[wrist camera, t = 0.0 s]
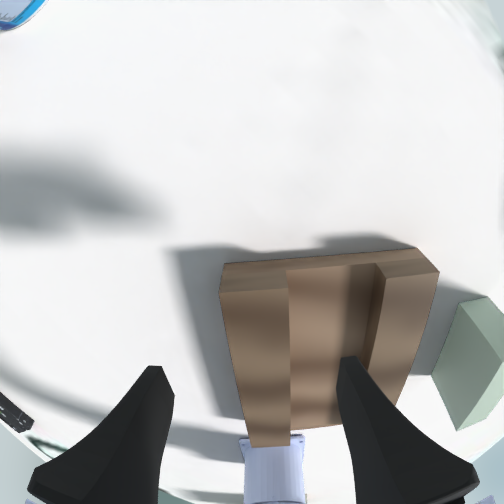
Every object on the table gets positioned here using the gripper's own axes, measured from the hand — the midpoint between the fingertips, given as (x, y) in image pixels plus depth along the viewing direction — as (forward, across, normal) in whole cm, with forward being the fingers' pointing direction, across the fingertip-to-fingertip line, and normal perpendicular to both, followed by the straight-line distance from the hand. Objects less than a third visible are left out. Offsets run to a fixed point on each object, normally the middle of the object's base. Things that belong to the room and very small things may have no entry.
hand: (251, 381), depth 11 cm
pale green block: (+10, -20, +11) cm, 25 cm away
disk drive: (+11, +50, +26) cm, 57 cm away
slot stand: (+10, -5, +10) cm, 15 cm away
